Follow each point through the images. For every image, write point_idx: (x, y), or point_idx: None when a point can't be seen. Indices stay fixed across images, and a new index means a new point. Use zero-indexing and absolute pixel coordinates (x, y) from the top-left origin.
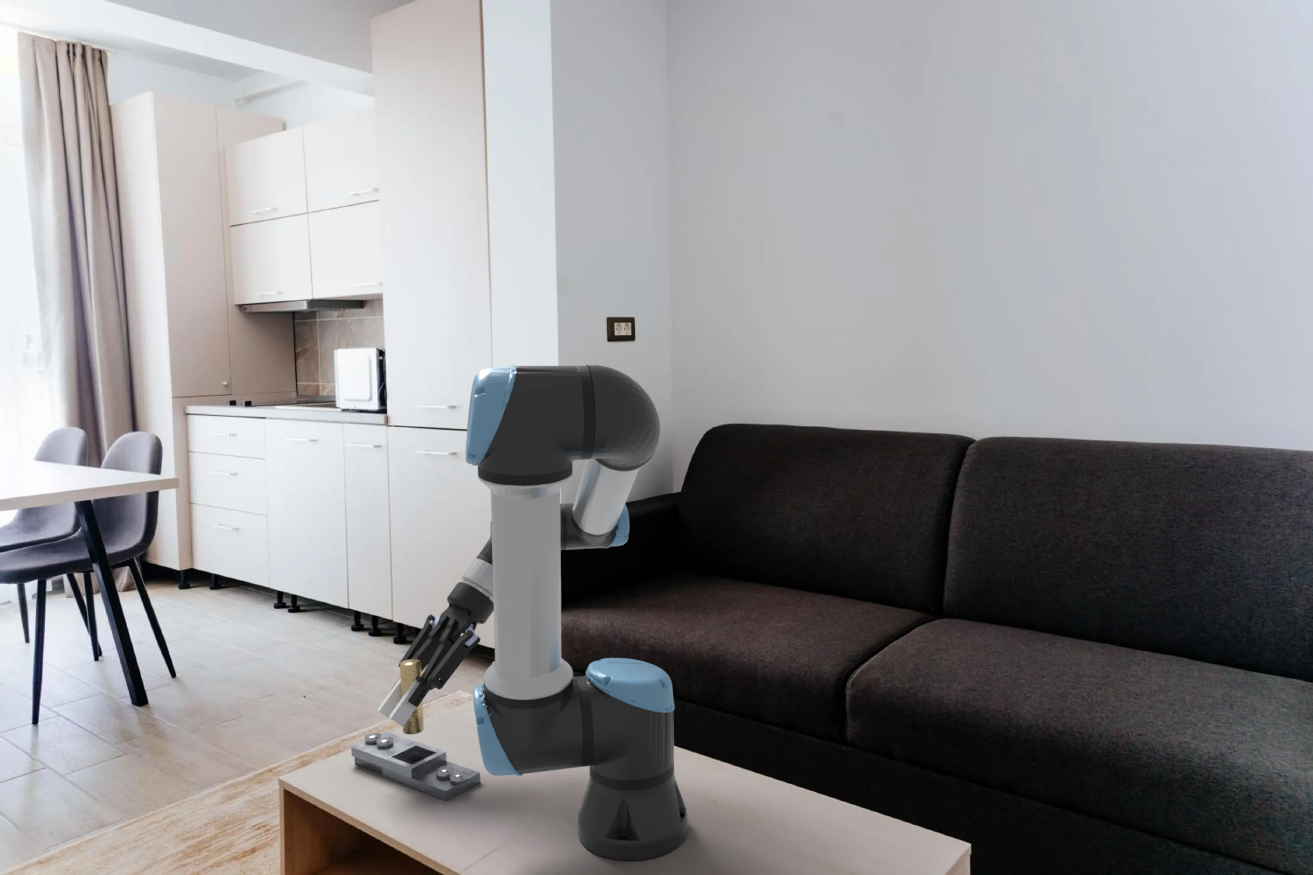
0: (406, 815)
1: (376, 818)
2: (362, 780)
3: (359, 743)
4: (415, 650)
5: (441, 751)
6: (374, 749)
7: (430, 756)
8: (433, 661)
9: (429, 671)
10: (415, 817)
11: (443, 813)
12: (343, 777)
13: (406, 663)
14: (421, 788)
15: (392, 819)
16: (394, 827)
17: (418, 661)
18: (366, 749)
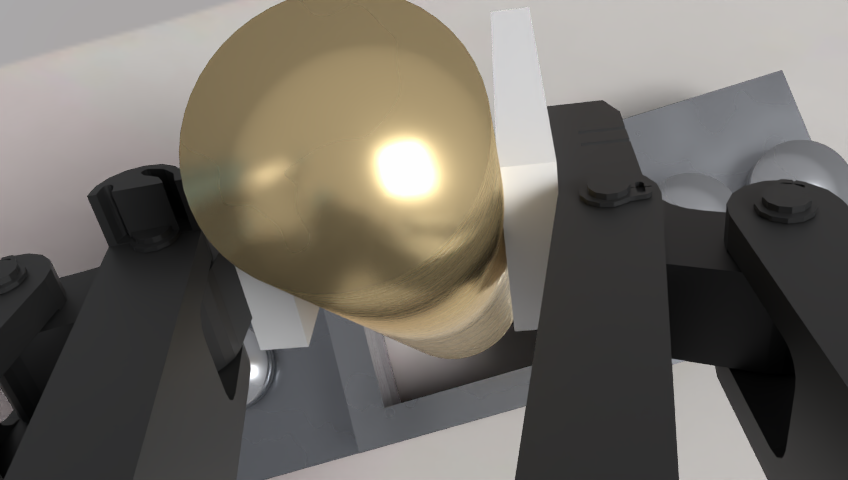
0: (145, 135)
1: (206, 39)
2: (562, 99)
3: (801, 119)
4: (844, 442)
5: (380, 434)
6: (659, 156)
7: (365, 358)
8: (65, 414)
9: (78, 316)
10: (107, 156)
11: (55, 253)
12: (651, 43)
13: (348, 80)
14: None
15: (156, 83)
16: (99, 68)
17: (298, 255)
18: (690, 123)
